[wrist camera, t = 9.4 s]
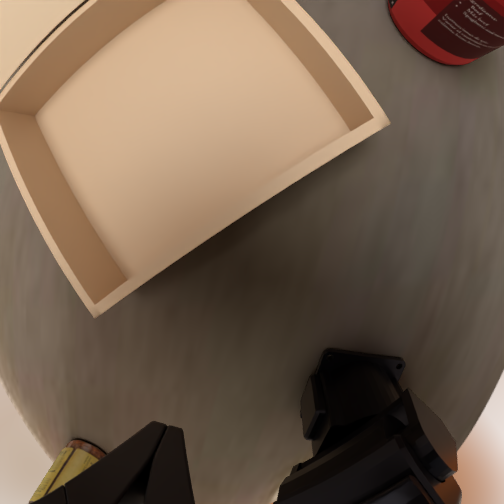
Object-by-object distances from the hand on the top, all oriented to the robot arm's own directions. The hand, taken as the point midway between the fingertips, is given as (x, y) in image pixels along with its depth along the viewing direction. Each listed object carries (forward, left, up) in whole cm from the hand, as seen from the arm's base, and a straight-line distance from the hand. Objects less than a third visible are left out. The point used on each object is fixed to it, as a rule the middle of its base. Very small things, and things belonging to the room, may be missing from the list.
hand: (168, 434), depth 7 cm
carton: (+6, -10, -13) cm, 17 cm away
